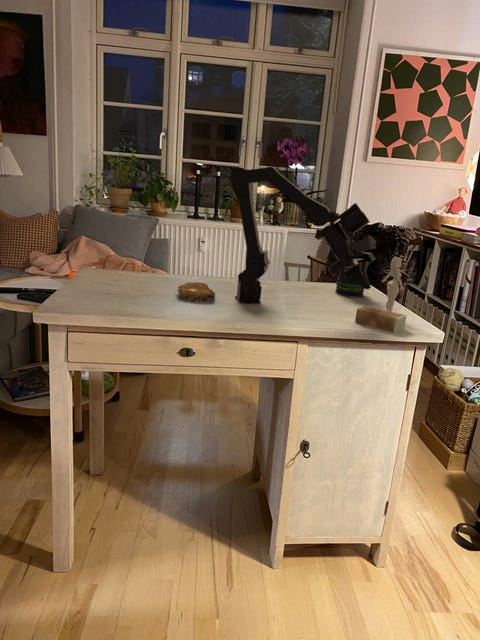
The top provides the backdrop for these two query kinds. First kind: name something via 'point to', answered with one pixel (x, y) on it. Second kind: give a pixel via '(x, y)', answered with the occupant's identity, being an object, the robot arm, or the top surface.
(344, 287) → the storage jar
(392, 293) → the human figurine
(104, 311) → the top surface
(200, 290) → the decorative rock
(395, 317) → the walnut block
